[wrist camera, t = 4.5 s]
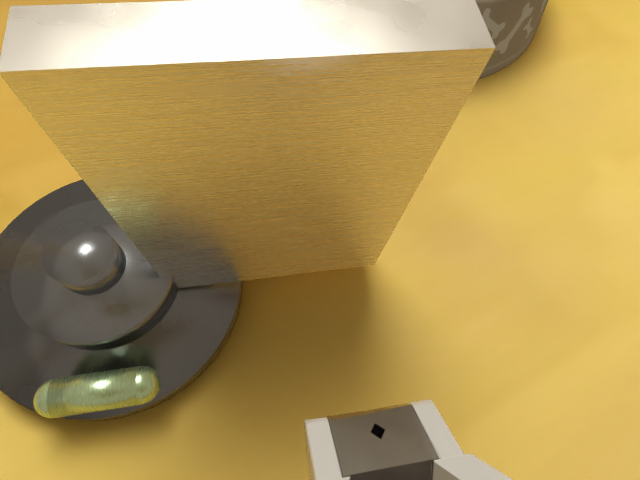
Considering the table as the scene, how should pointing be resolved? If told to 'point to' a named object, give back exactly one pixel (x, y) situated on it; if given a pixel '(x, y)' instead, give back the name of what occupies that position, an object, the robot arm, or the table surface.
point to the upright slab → (226, 143)
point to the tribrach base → (112, 364)
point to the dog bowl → (509, 29)
